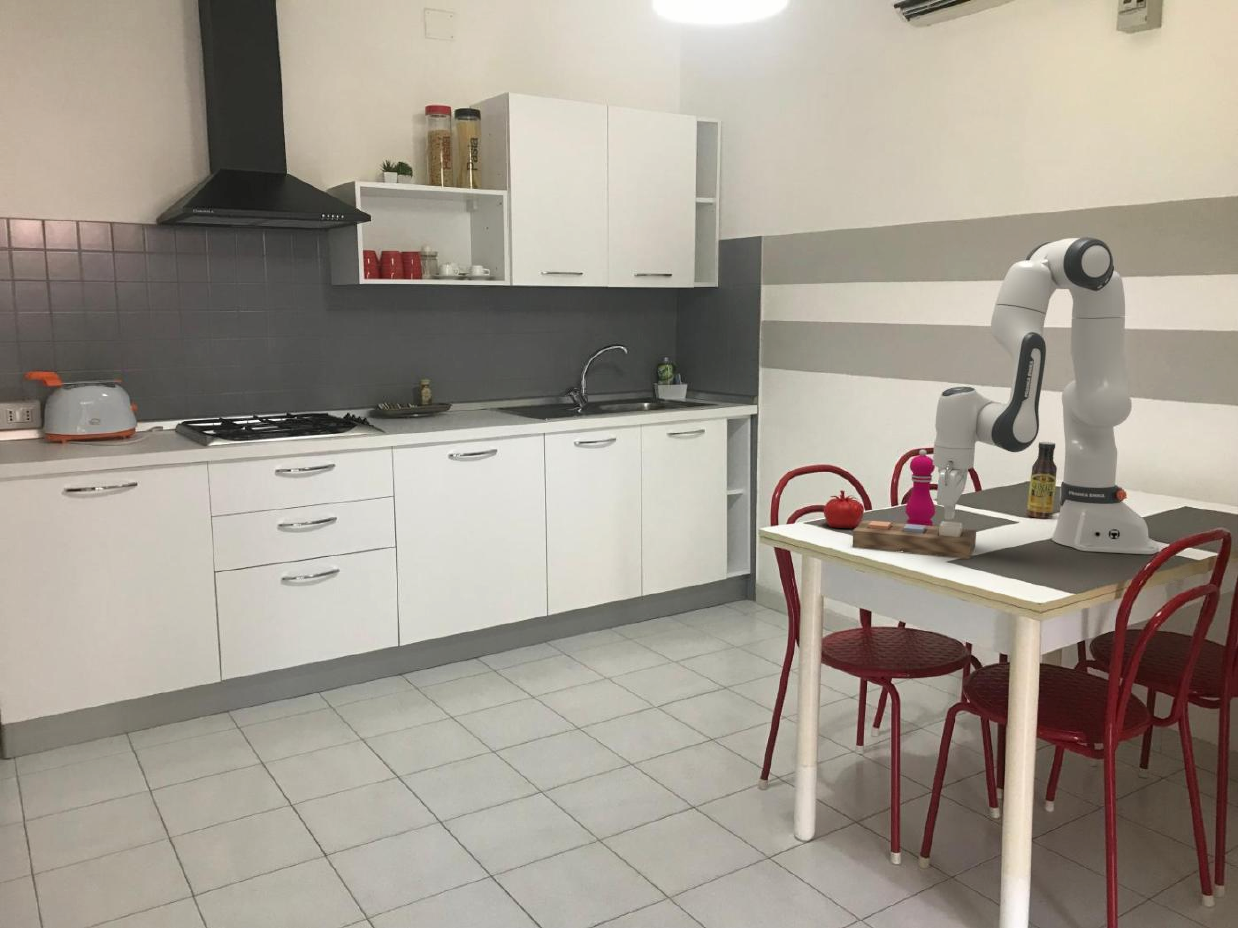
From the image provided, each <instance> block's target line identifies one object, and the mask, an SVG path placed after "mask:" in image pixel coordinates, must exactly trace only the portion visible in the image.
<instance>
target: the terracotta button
mask: <svg viewBox="0 0 1238 928" xmlns="http://www.w3.org/2000/svg"><path fill="white" fill-rule="evenodd" d="M871 521H872V522H871V523H870V524H869V529H879V530H890V529H891V523H892V522H891V521H878V520H871Z"/></svg>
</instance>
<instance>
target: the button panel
mask: <svg viewBox="0 0 1238 928" xmlns="http://www.w3.org/2000/svg"><path fill="white" fill-rule="evenodd" d="M862 520H863V521H861V522H860V523H859V524H858V525H857V526H855V527H854V529H852V548H856V547H859V548H858V549H868V550H878V551H885V552H886V551H887V552H896V551H903V552H902V553H905V552H911V553H910V554H915V553H920V554H919V555H925V554H926V555H928V556H937V557H944V558H945V557H946V558H955V559H964V560H965V559H968V560H970V558H971V557H972V555H973V552H974V551H975V549H976V543H977V542H976V541H977V529H965V528H962V536H961V537H953V536H943V535H939V528H940V526H934V525H933V526H926V532H925V534H921V533H911V532H903V528H904V527H905V525H906V524H907V523H900V522H891V529H890V530H879V529H869V524H870V523H871V522H872V521H873V520H866V519H862Z"/></svg>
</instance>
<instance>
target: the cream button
mask: <svg viewBox="0 0 1238 928" xmlns="http://www.w3.org/2000/svg"><path fill="white" fill-rule="evenodd" d="M939 527H940V528H939V535H943V536H953V537H961V536H962V529H963V522H955V521H944V520H942V521H941V522H940V524H939Z"/></svg>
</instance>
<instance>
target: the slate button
mask: <svg viewBox="0 0 1238 928" xmlns="http://www.w3.org/2000/svg"><path fill="white" fill-rule="evenodd" d="M905 524H906V525H905V527H904V528H903V532H911V533H921V534H925V532H926V526H925V525H914V524H907V523H905Z"/></svg>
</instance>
